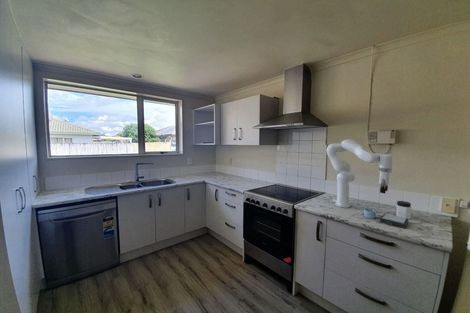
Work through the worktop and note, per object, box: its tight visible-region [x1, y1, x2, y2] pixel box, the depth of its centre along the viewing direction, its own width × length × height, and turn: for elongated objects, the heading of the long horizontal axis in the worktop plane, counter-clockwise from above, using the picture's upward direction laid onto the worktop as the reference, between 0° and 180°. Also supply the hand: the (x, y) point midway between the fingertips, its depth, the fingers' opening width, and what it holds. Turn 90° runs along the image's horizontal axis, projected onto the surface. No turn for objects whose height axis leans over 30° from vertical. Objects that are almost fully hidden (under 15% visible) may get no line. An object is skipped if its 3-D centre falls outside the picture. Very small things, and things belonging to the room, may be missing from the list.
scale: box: [379, 213, 409, 229], centre depth 138 cm, size 14×16×4 cm
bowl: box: [363, 208, 377, 220], centre depth 149 cm, size 7×7×6 cm
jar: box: [395, 200, 412, 220], centre depth 148 cm, size 9×8×12 cm
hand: (383, 191), depth 145 cm, fingers open, 9 cm apart
